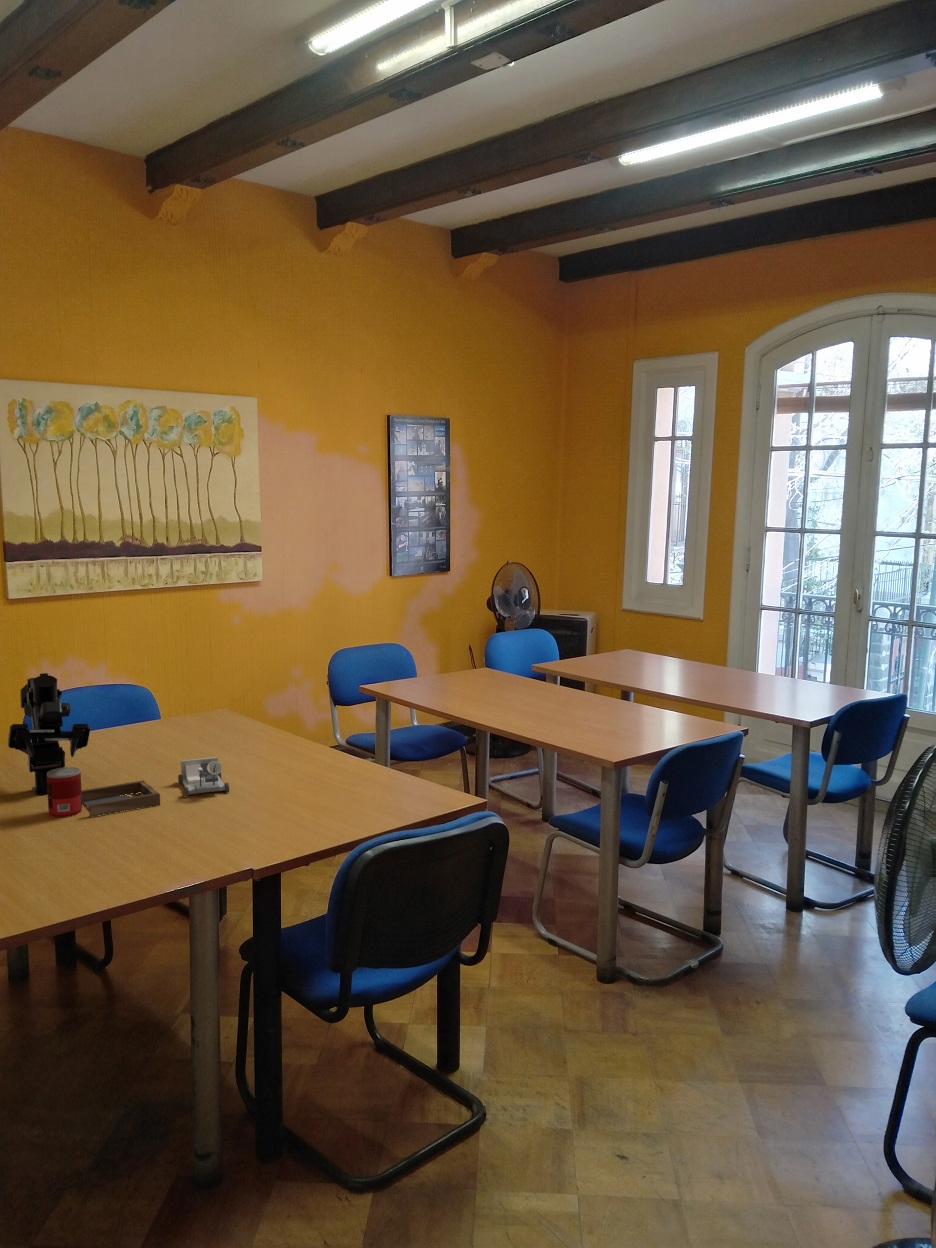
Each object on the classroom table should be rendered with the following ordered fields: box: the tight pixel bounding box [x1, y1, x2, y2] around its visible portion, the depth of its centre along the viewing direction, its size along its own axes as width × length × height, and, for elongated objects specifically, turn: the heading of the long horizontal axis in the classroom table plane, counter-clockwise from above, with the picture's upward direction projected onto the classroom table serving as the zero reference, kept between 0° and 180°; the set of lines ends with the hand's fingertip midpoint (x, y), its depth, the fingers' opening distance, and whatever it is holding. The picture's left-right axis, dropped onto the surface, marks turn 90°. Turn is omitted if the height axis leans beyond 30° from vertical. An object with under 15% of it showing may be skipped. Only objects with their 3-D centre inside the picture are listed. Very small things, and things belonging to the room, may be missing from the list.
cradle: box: [81, 779, 161, 818], centre depth 250 cm, size 14×17×3 cm
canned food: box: [47, 766, 83, 818], centre depth 241 cm, size 8×8×11 cm
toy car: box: [177, 756, 230, 798], centre depth 262 cm, size 18×10×12 cm
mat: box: [82, 793, 141, 811], centre depth 249 cm, size 11×14×1 cm
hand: (53, 755), depth 236 cm, fingers open, 9 cm apart
